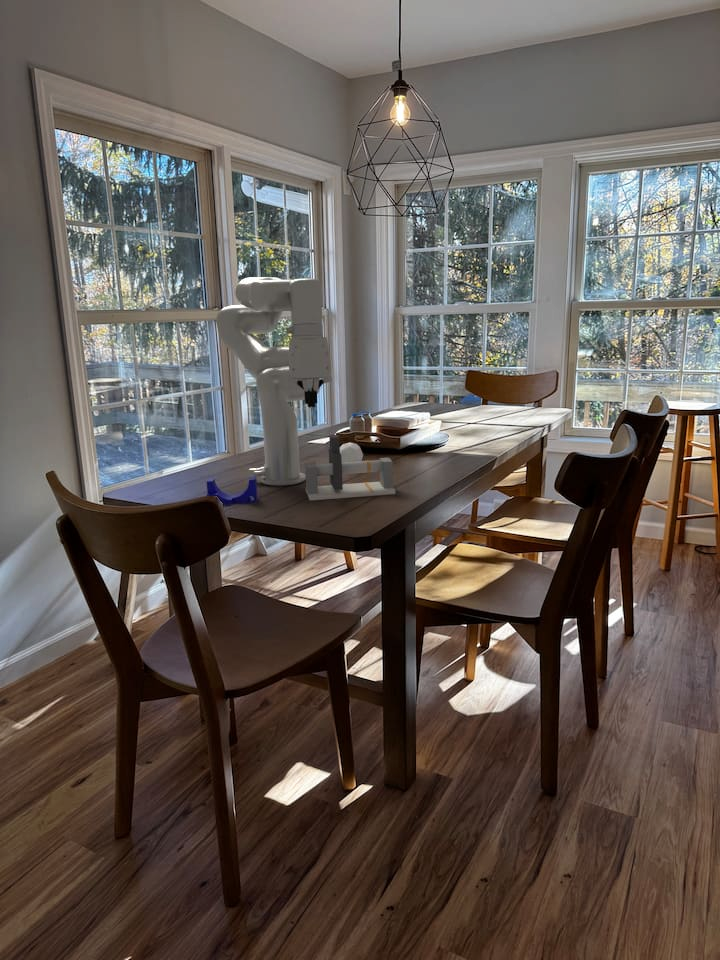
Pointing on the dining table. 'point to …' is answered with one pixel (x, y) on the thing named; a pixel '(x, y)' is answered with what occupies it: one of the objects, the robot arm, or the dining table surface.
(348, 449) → the geometric ball
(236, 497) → the blue pipe cradle
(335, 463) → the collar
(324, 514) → the dining table surface
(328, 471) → the pipe stand
